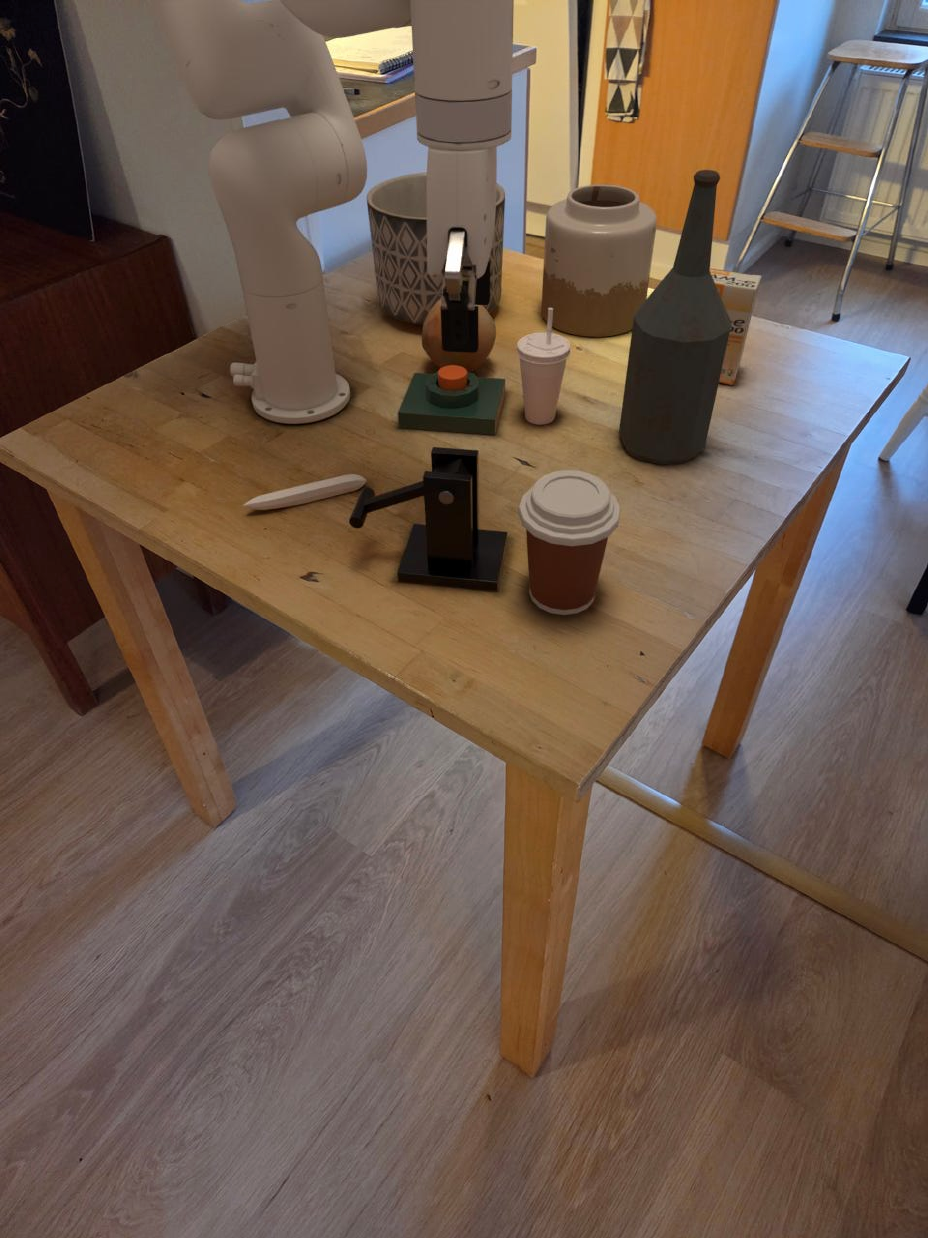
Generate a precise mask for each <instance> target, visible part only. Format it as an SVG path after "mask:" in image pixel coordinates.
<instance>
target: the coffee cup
mask: <svg viewBox="0 0 928 1238" xmlns="http://www.w3.org/2000/svg"><path fill="white" fill-rule="evenodd" d="M621 510H622V509H621V506H620V504H619V502H618V500H617V498H616V496H615V495H614V494H613V493H612V492H611V489H610V488H609V485H608V484H607V483H605V482H604V481H603V480H601V478H599V477H598V476H596V475H594V474H591V473H588V472H585V471H582V470H573V469H563V470H554V471H553V472H550V473H548V474H547V473H546V474H545V475H542V476H541V477H539V479H537V480H536V481H535V482H534V483H533V484H532V486H531V487H530V488H529V489H528V490H527V491H526V492H525V493H524V494H523V495H521V499H520V502H519V506H518V511H517V512H518V514H517V515H518V517H519V519H520V522H521V526H522V527H523V528H524V529H525V533H526V551H527V553H526V554H527V567H528V568H527V569H528V585H529V589H528V593H529V596H530V598H531V601H532V602H533V603H534V604H535V605H536V606H537V607H538V608H539V609H541V610H543V611H545V612H547V613H550V614H552V615H553V614H554V615H561V616H566V615H567V616H568V615H577V614H578V613H581V612H584V611H586V610H587V609H588V608H589V607H590V606H591V605H592V604H593V603H594V601H595V595H596V592H597V591H596V590H597V587H598V583H599V577H600V573H601V570H602V565H603V561H604V558H605V553H606V549H607V544H608V540H609V537H610V536H611V535H612V534H613V532H615V531H616V529H617V528H618V527H619V522H620V517H621Z"/></svg>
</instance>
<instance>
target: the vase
mask: <svg viewBox="0 0 928 1238" xmlns="http://www.w3.org/2000/svg"><path fill="white" fill-rule="evenodd" d="M657 225H658V216H657V213H656V212H655V210H654V209H653V208H652V207H651V206H649V205H648V204H646V203H644V202H641V200H640V195H639V194H638V193H637V192H636V191H635V190H632V189H630V188H628V187H624V186H621V185H613V184H587V185H583V186H579V187H576V188H574V189H572V190H570V191H569V192H568V193H567V196H566V198H565V199H563V200H560V201H557V202H556V203H554V204H553V205H551V207H550V208H548V210H547V213H546V216H545V227H544V229H545V230H544V249H543V250H544V251H543V269H542V289H541V315H542V318H543V320H544V321H545V322H546V323H547V322H548V308H553V319H552V328H555V329H556V330H557V331H561V332H563V333H567V334H571V335H574V336H581V337H591V338H599V337H600V338H601V337H611V336H617V335H621V334H624V333H627V332H629V331H632V327H633V320H634V316H635V314H636V311H637V310H638V309H639V308H640V306H641V305H642V304H643V303H644V302H645V300H646V299H647V298H648V290H649V283H650V276H651V269H652V262H653V254H654V247H655V242H656V241H655V240H656V233H657Z"/></svg>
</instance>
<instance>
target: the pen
mask: <svg viewBox="0 0 928 1238" xmlns="http://www.w3.org/2000/svg"><path fill="white" fill-rule="evenodd" d="M366 483H367V479H366V478H365V477H363V476H362V475H359V474H355V473H350V474H343V475H339V476H334V477H331V478H327V479H322V480H318V481H313V482H308V483H305V484H300V485H297V486H293V487H288V488H286V489H280V490H277V491H272V492H269V493H265V494H260V495H258V496H256V497H253V498H251V499H250V500H249V501H247V502H245V503H244V504H243V505H242V507H244V508H248V509H251V510H252V509H253V510H260V511H267V510H274V509H281V508H282V509H283V508H287V507H293V506H298V505H303V504H308V503H312V502H316V501H320V500H323V499H327V498H328V499H329V498H332V497H335V496H339V495H344V494H348V493H351V492H355V491H357V490H360V489H361V488H362V487H364V486H365V484H366Z"/></svg>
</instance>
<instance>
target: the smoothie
mask: <svg viewBox="0 0 928 1238" xmlns="http://www.w3.org/2000/svg"><path fill="white" fill-rule="evenodd" d="M552 319H553V308H548V322H546V323H547V324H546V325H547V326H546V332H542V331H541V332H534V333H533V332H532V333H529V334H526V335H524V336H522V337H521V338H520V339H519V340H517V342H516V343H517V344H516V355H517V357H518V358H519V368H520V379H521V387H522V398H523V399H522V400H523V409H524V418H525V420H526V421H527V422H529V423H530V424H533V425H548V424H551V423H552V422H553V421H554V420H555V417H556V412H557V407H558V403H559V398H560V393H561V388H562V384H563V379H564V373H565V369H566V364H567V360H568V358H569V357H570V355H571V346H572V345H571V343H570V341H569V339H567V338H566V337H565V336H562V335H560V334H557V333H553V327H552Z"/></svg>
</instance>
